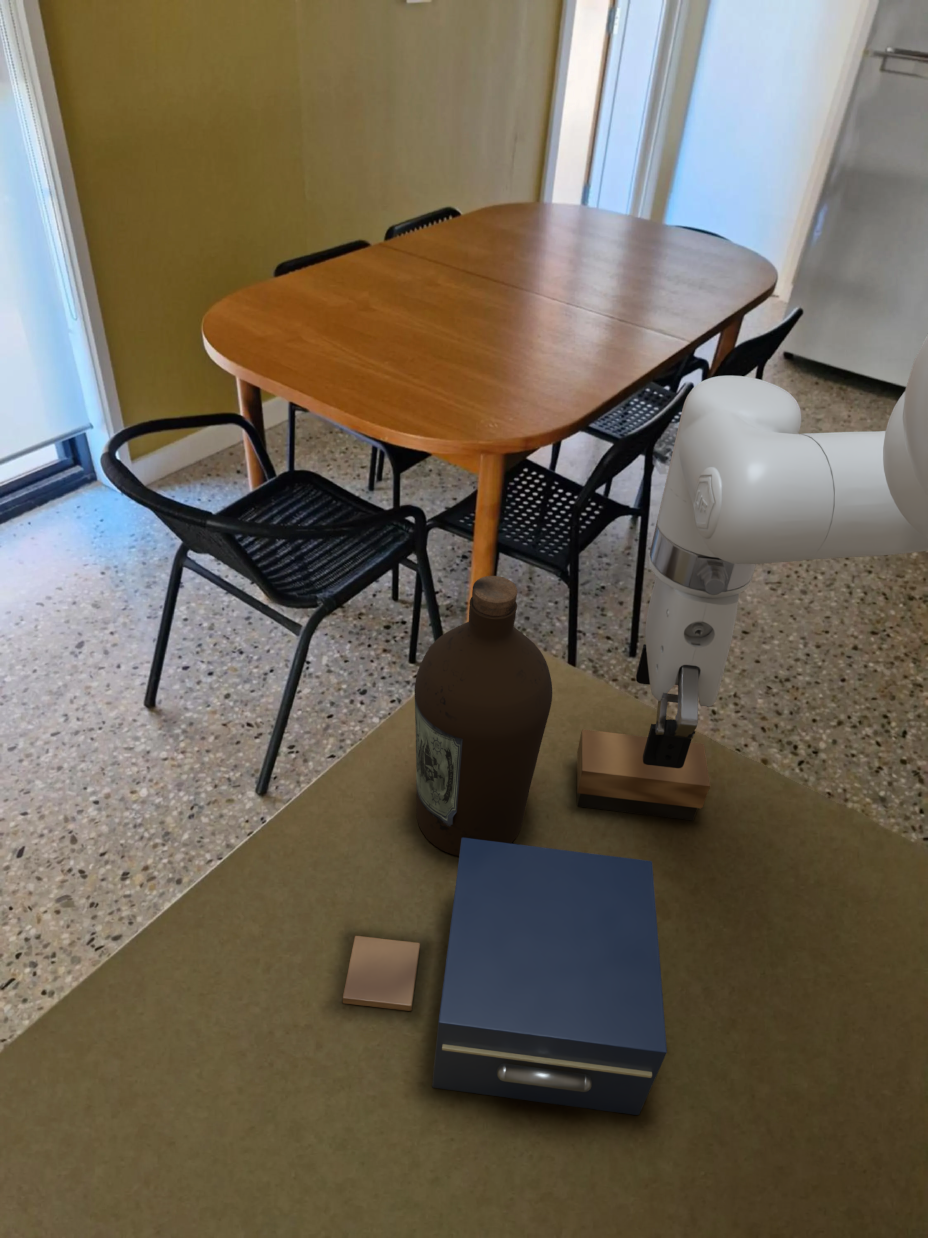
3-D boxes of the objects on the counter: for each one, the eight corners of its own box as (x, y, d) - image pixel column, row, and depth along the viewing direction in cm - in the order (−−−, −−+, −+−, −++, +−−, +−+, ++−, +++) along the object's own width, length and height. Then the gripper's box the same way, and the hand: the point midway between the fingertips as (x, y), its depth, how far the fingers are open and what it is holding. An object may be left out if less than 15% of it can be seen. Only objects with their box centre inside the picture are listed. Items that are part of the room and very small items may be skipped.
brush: (691, 780, 83) (704, 743, 80) (696, 823, 79) (710, 786, 76) (574, 766, 83) (582, 729, 80) (573, 808, 79) (582, 770, 76)
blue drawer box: (640, 1135, 58) (669, 1073, 53) (429, 1106, 59) (435, 1042, 53) (629, 929, 70) (652, 860, 65) (454, 907, 71) (461, 837, 65)
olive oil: (491, 754, 84) (519, 533, 68) (552, 837, 77) (600, 612, 61) (388, 792, 79) (394, 565, 64) (444, 884, 72) (465, 654, 57)
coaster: (342, 998, 64) (342, 1003, 64) (411, 1006, 63) (411, 1011, 64) (354, 935, 67) (355, 941, 68) (420, 942, 67) (419, 948, 68)
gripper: (778, 630, 57) (715, 806, 68) (738, 497, 71) (691, 660, 81) (661, 618, 57) (616, 794, 68) (644, 487, 71) (609, 651, 82)
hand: (657, 721), depth 75 cm, fingers open, 9 cm apart
